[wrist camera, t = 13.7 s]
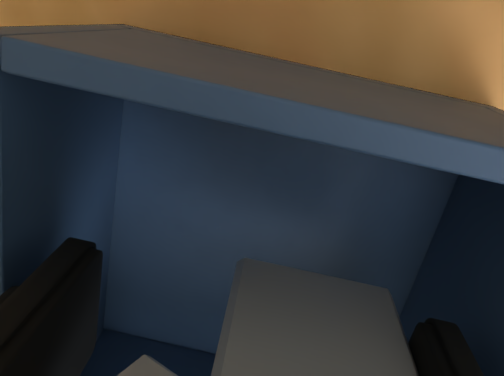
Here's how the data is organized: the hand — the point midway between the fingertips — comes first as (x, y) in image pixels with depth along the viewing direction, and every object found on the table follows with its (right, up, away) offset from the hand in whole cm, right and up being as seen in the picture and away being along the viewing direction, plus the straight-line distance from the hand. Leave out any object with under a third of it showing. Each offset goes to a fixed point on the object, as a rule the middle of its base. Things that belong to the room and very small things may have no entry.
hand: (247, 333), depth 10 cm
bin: (+1, +2, +5) cm, 6 cm away
